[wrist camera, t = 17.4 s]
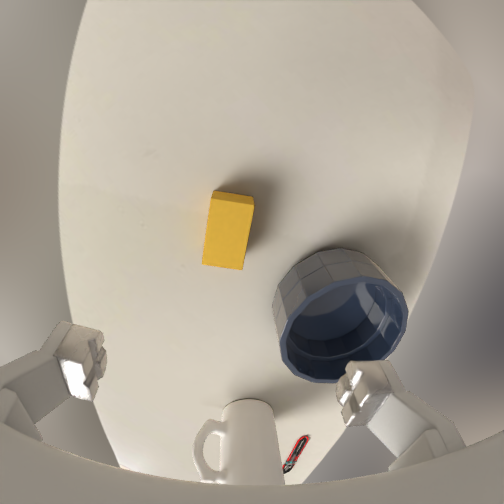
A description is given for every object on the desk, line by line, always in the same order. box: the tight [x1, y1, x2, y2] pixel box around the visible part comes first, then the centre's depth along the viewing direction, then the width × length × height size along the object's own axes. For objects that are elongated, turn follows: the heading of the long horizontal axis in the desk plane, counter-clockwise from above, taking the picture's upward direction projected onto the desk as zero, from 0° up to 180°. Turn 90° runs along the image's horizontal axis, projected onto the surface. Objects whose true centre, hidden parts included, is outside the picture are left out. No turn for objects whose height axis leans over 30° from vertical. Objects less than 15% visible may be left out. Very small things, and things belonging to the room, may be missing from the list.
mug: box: [192, 399, 285, 486], centre depth 27 cm, size 10×7×12 cm, turn 59°
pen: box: [282, 436, 308, 474], centre depth 39 cm, size 2×14×1 cm, turn 172°
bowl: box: [272, 248, 408, 383], centre depth 24 cm, size 11×11×6 cm
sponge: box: [202, 191, 255, 270], centre depth 22 cm, size 5×3×2 cm, turn 169°
